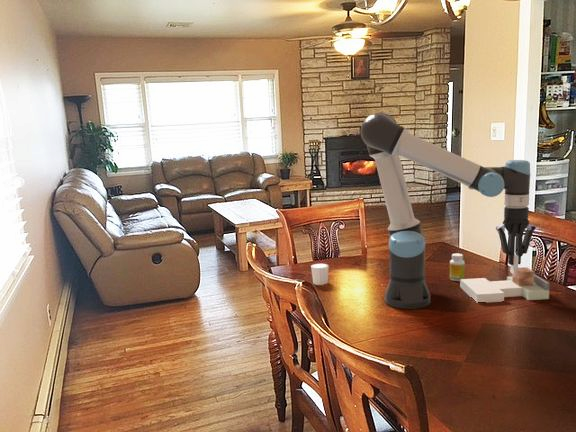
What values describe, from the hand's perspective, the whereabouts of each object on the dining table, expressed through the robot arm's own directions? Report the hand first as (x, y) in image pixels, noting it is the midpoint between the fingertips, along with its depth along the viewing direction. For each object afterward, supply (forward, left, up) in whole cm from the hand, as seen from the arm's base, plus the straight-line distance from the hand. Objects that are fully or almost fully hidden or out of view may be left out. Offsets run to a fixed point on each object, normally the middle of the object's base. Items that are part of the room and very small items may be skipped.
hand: (514, 273), depth 173 cm
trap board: (-4, 0, -7) cm, 8 cm away
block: (+3, 0, -4) cm, 5 cm away
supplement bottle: (-14, +17, -7) cm, 23 cm away
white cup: (-66, +22, -7) cm, 70 cm away
